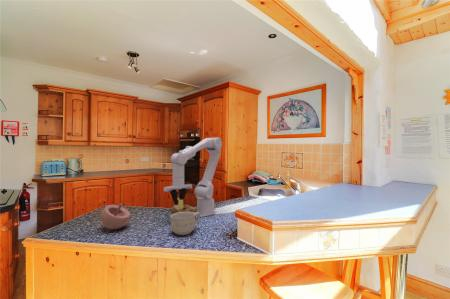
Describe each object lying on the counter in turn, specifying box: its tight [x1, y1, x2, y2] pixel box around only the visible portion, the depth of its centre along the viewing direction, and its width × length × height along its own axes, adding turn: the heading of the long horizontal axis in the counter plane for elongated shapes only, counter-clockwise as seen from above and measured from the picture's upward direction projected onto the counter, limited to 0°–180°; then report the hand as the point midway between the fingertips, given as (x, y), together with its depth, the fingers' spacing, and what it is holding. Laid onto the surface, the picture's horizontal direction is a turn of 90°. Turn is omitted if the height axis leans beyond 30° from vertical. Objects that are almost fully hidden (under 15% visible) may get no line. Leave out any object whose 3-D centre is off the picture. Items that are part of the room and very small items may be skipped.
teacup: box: [169, 211, 202, 236], centre depth 91 cm, size 14×11×8 cm
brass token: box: [173, 197, 184, 210], centre depth 103 cm, size 2×5×5 cm, turn 39°
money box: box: [170, 203, 197, 221], centre depth 105 cm, size 9×10×6 cm
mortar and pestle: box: [100, 202, 132, 230], centre depth 94 cm, size 12×12×12 cm
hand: (178, 204), depth 103 cm, fingers closed on brass token, 2 cm apart
